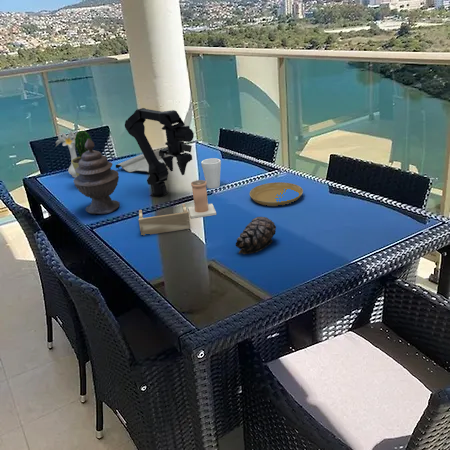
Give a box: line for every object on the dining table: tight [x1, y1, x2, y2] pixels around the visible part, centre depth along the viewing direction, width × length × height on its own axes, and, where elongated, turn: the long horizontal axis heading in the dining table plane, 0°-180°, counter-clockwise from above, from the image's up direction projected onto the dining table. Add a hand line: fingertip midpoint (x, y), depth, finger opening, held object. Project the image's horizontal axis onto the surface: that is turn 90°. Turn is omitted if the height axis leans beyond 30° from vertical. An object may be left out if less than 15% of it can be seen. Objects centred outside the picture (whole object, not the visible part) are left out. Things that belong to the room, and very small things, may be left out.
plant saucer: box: [249, 181, 304, 207], centre depth 218 cm, size 24×24×3 cm
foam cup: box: [200, 157, 222, 189], centre depth 236 cm, size 10×9×13 cm
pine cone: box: [235, 216, 277, 255], centre depth 175 cm, size 10×18×10 cm, turn 146°
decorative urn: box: [73, 138, 121, 215], centre depth 215 cm, size 20×20×34 cm
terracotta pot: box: [190, 179, 209, 212], centre depth 207 cm, size 7×7×13 cm
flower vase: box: [55, 130, 88, 178], centre depth 268 cm, size 13×18×25 cm
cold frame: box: [138, 203, 191, 236], centre depth 201 cm, size 18×20×7 cm
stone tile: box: [187, 203, 217, 219], centre depth 210 cm, size 11×11×1 cm
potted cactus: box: [71, 129, 92, 176], centre depth 249 cm, size 15×15×30 cm
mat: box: [115, 153, 167, 174], centre depth 277 cm, size 23×24×5 cm
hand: (177, 173), depth 221 cm, fingers open, 9 cm apart
